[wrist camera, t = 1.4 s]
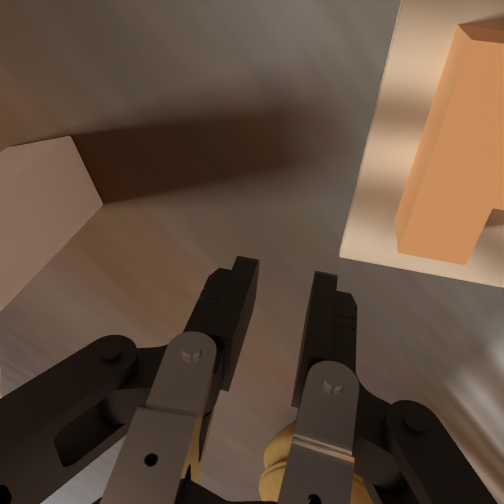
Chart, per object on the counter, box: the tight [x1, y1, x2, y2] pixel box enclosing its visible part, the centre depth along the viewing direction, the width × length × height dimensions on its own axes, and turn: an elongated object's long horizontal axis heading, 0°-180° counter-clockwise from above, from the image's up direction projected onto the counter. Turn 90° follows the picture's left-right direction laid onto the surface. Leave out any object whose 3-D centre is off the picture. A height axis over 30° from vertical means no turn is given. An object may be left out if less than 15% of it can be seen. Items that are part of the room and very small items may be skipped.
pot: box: [259, 422, 373, 504], centre depth 44 cm, size 12×12×10 cm
